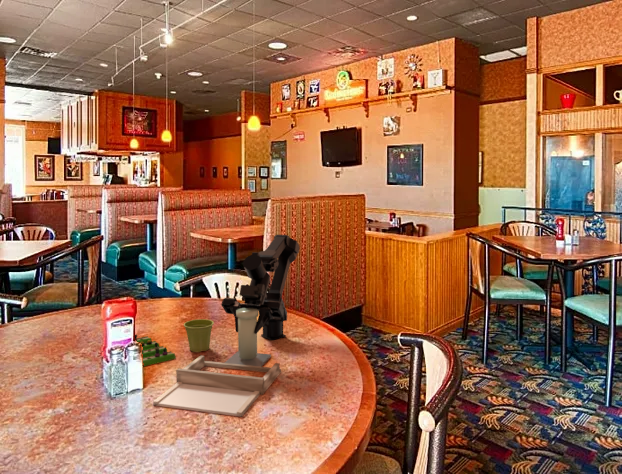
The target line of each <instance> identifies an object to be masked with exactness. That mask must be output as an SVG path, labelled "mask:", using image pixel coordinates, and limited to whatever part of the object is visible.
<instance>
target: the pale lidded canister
mask: <svg viewBox="0 0 622 474" xmlns="http://www.w3.org/2000/svg"><path fill="white" fill-rule="evenodd" d="M236 317H238V332H237V333H238V336H237V338H238V339H237V342H238V344H237V345H238V346H237V347H238V348H237V349H238V354H239V358H241V359H253V358H255V357H257V353H258V333H257V334H255V333H254V331H255V326H256V323H257V320H258V317H259V311H258V309H256V308H241V309H238V310H236Z"/></svg>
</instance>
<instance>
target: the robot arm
mask: <svg viewBox="0 0 622 474" xmlns="http://www.w3.org/2000/svg"><path fill="white" fill-rule="evenodd" d="M299 252H300V244H299V242H298V241H297V240H295V239H293V238H291V237H290V235H288V234H275V235H274V237H273V240H272V241H271V242H270V244H269V245H268V247H267V248H266V249H265V250H262V251H259V252H256V251H255V252H253V251H252V252H251V255H248V256H247V257H245V258H244V260H243V262H242V264H243V265H242V266H243V268H244V270H245V272H246V274H247V277H248V278H249V279H251V280H250V283H249V285H248V284H240V287H239V289H240V290H239V296H240V297H241V299H242V301H244V302H239V301H238V300H237V299H236V298H235V297H224V298H223V299H222V300H221V304H220V305H221V306H222V309H223V310H224V312H225V314H228V315H233V316H234V326H235V332H236V333H238V317H236V310H238V309H241V308H256V309H258V317H257V323H256V326H255V331H254V333H255V334H257V335H258V333H259V331H260V330H261V329H262V334H260V336H261V337H263V338H265V339H267V340H269V341H270V340H271V341H274V340H278V339H282V338H286V337H287V335H286V334H285V333H284V322H287V321H288V311H287V308H286V307H285V302H284V299H283V297H282V296H283V293H284V289H285V286H286V282H287V281H286V280H287V278H288V274H289V270H290V267H291V264H292V263H294V261H295V260H296V259H297V258H298V257H297V256H298V254H299ZM269 273H273V276H272V279H271V275H270V274H269ZM269 285H270V287H269ZM268 288H269V290H268Z"/></svg>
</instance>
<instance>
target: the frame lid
mask: <svg viewBox="0 0 622 474" xmlns="http://www.w3.org/2000/svg"><path fill="white" fill-rule="evenodd" d="M259 396H260V394H259V391H254V392H249V391H240V390H231V389H223V388H214V387H206V386H197V385H189V384H182V382H177V381H176V383H174V384H173V385H172V386H171V387H169V388H168V389H167V390H166V391H164V392H163V393H162V394H160V395H159V396H158V397H156V399H154V400H153V402H152V404H153V406H156V407H157V406H158V407H166V408H172V409H180V410H189V411H195V412H203V413H210V414H212V413H213V414H219V415H227V416H234V417H240V418H241V417H243V415H244V414H245V413H246V412H247V411H248V410H249V408H250V407H251V406H252V404H253V403H254V402H255V401H256V400H257V399H258V397H259Z"/></svg>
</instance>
